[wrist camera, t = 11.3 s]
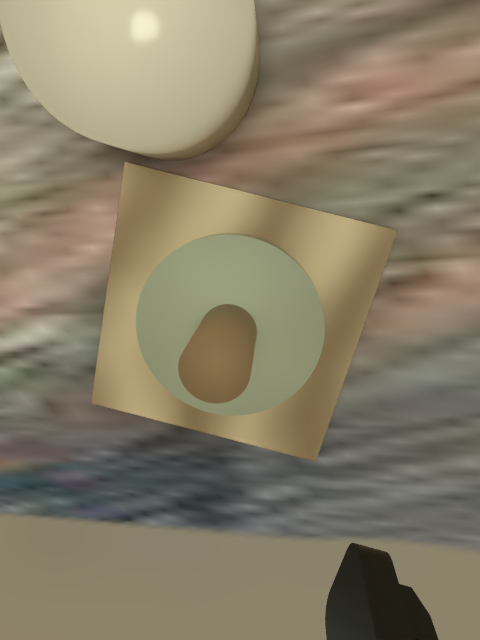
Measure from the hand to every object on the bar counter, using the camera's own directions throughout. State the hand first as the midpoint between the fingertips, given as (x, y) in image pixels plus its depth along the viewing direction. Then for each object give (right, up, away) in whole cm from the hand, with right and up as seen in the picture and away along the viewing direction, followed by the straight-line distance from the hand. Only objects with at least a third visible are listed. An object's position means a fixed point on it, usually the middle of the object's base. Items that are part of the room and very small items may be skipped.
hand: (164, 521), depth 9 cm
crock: (-2, +17, +11) cm, 20 cm away
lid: (+1, +4, +13) cm, 14 cm away
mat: (+1, +4, +14) cm, 15 cm away
